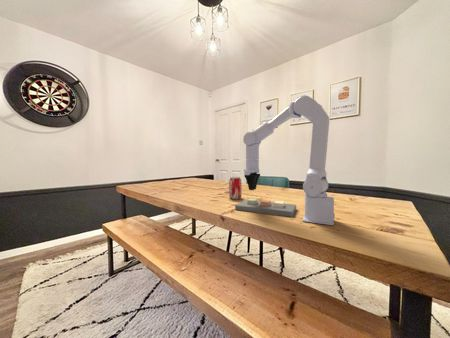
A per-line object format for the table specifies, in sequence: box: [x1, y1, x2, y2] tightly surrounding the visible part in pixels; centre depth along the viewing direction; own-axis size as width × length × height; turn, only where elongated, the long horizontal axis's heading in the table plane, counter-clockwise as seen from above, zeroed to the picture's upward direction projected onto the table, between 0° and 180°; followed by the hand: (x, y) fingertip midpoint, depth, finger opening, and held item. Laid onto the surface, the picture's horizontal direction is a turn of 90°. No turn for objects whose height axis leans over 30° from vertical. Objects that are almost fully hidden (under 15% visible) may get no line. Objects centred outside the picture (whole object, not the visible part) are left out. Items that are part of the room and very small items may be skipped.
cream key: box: [273, 200, 286, 208], centre depth 78 cm, size 4×4×2 cm
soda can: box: [228, 176, 242, 200], centre depth 105 cm, size 7×7×12 cm
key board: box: [234, 199, 297, 218], centre depth 81 cm, size 24×12×2 cm, turn 62°
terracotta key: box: [259, 199, 271, 207], centre depth 81 cm, size 4×4×2 cm
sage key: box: [246, 198, 259, 205], centre depth 84 cm, size 4×4×2 cm
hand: (252, 189), depth 83 cm, fingers closed
